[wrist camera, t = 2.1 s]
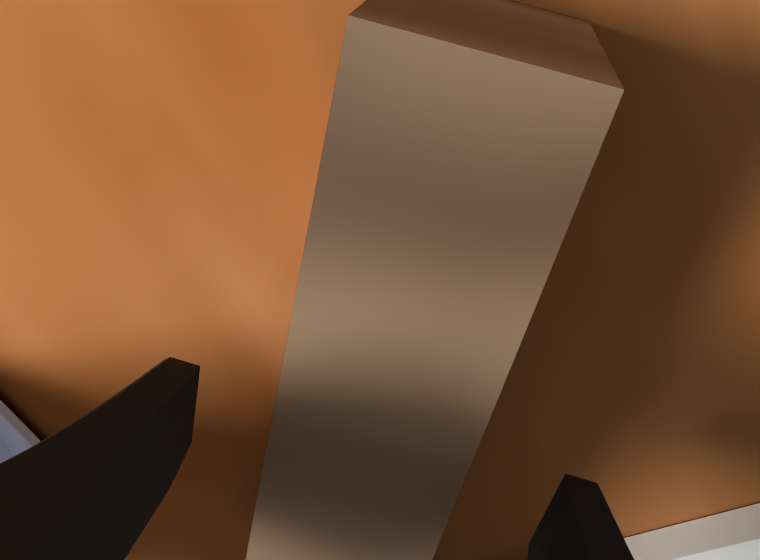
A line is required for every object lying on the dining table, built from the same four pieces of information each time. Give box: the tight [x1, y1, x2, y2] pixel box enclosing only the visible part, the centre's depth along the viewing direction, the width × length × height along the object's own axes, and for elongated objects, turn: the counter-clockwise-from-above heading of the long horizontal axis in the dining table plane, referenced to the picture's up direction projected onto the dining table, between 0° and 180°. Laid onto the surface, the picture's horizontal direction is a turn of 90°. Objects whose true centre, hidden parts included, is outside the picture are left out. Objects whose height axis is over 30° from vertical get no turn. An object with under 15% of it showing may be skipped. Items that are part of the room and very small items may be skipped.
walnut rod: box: [245, 0, 624, 560], centre depth 15 cm, size 16×4×5 cm, turn 167°
